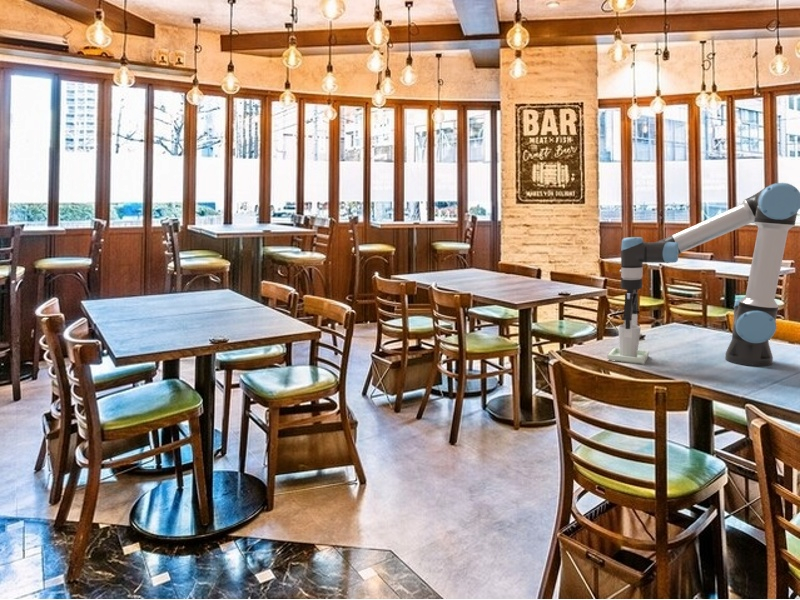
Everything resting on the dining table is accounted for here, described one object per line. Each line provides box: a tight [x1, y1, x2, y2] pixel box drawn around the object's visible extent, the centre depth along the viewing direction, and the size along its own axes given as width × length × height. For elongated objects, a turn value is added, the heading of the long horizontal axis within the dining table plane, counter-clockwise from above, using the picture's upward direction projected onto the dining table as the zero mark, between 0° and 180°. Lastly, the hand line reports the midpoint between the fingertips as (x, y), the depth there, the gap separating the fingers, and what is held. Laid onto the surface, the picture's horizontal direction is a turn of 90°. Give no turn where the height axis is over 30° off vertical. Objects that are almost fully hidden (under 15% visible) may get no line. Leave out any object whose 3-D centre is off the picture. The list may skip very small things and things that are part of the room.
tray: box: [607, 347, 650, 365], centre depth 222 cm, size 13×13×2 cm
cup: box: [618, 324, 642, 357], centre depth 221 cm, size 8×8×12 cm
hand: (630, 333), depth 220 cm, fingers open, 13 cm apart
